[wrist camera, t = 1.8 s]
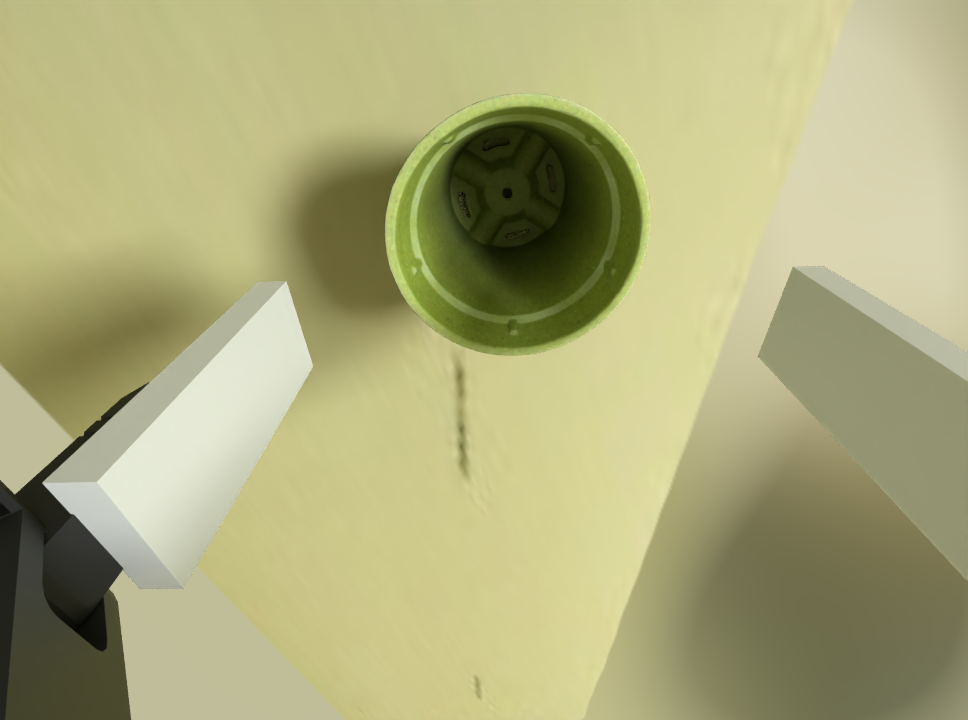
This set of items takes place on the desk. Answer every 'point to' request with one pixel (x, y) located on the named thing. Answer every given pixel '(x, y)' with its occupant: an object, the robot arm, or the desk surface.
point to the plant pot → (518, 225)
